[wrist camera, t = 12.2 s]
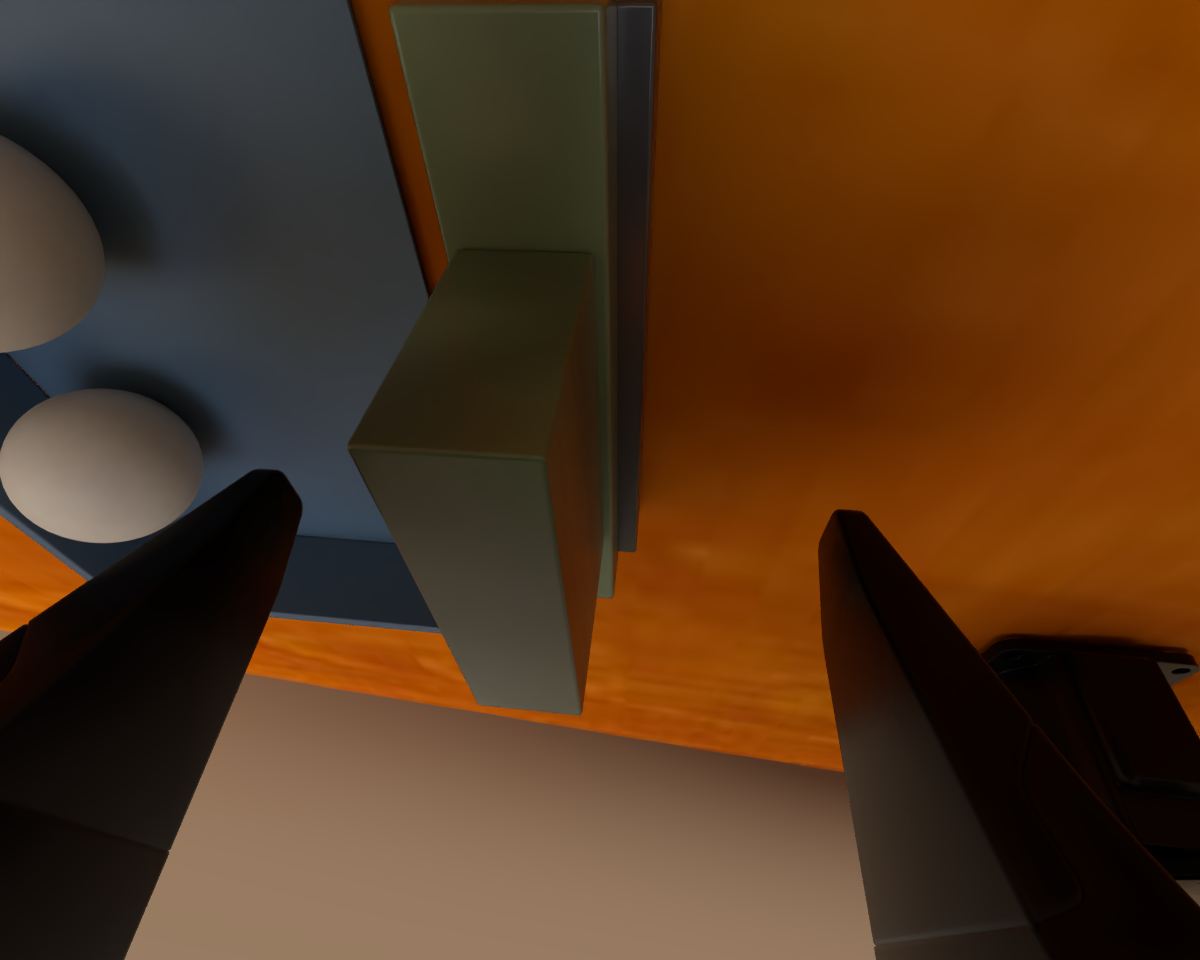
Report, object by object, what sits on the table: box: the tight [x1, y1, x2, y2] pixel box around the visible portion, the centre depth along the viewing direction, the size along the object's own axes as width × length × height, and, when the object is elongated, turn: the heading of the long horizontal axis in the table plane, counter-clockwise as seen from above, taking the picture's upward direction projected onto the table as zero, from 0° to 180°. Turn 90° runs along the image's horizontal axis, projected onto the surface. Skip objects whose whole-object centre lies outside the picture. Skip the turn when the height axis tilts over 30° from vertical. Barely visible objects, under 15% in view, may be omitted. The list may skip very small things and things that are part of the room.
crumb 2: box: [0, 388, 204, 543], centre depth 15 cm, size 4×4×4 cm
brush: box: [347, 0, 662, 715], centre depth 10 cm, size 3×12×7 cm, turn 1°
